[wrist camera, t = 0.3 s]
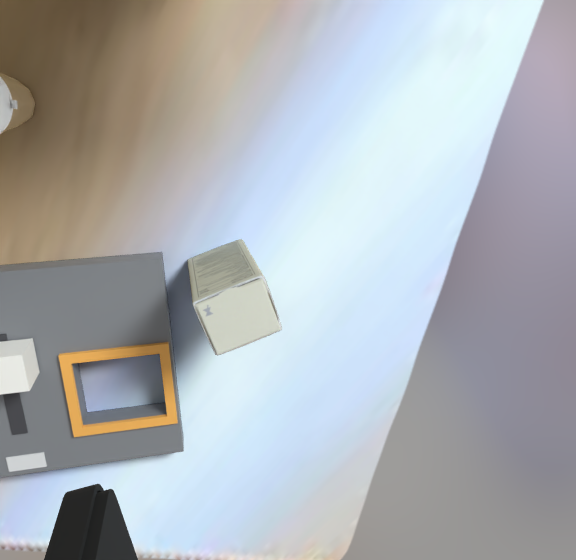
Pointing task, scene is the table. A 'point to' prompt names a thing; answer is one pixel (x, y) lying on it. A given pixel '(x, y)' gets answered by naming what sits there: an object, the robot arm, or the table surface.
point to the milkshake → (14, 103)
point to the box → (231, 297)
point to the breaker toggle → (17, 366)
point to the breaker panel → (85, 348)
